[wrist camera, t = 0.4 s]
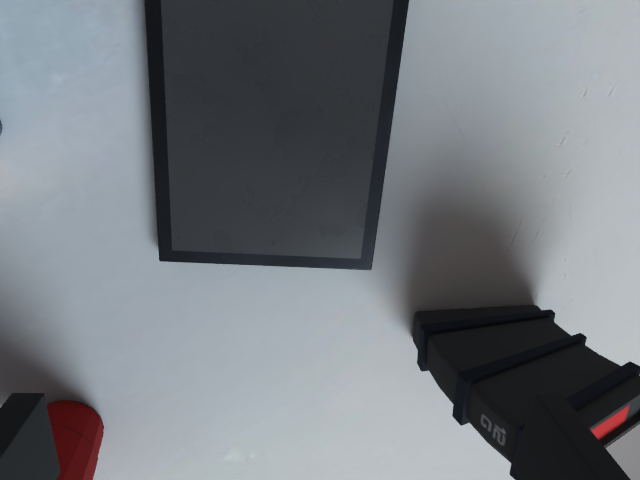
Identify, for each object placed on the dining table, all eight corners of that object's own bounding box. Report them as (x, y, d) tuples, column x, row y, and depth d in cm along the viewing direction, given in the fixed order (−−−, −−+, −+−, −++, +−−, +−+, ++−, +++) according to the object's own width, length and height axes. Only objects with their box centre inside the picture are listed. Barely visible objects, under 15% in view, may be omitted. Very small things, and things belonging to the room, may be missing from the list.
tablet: (144, -90, 26) (138, -97, 25) (412, -59, 28) (418, -64, 27) (163, 254, 35) (158, 262, 33) (368, 263, 36) (371, 271, 35)
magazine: (379, 320, 36) (549, 450, 24) (493, 279, 42) (675, 367, 30) (378, 358, 38) (537, 499, 26) (489, 314, 44) (660, 411, 32)
